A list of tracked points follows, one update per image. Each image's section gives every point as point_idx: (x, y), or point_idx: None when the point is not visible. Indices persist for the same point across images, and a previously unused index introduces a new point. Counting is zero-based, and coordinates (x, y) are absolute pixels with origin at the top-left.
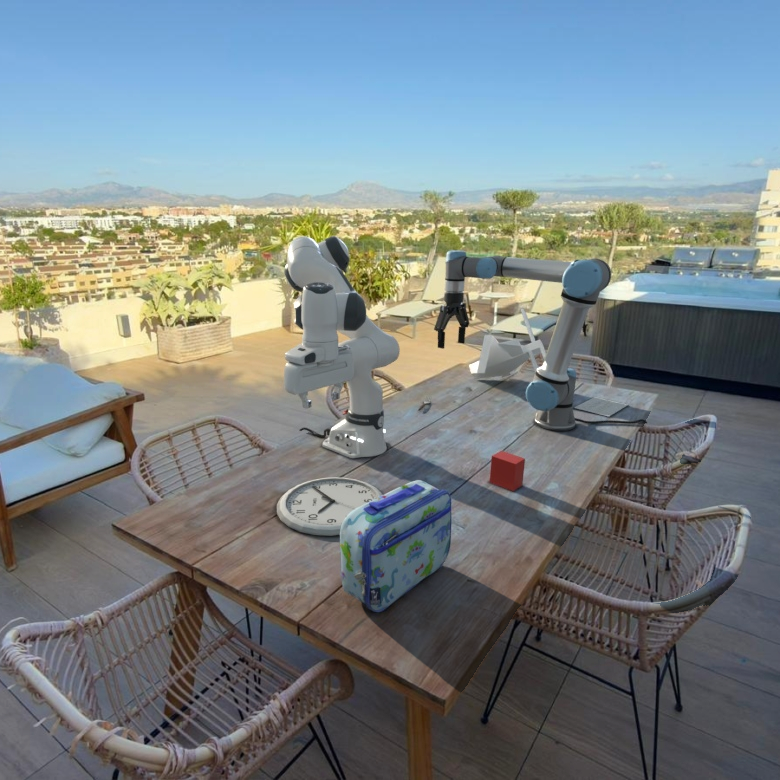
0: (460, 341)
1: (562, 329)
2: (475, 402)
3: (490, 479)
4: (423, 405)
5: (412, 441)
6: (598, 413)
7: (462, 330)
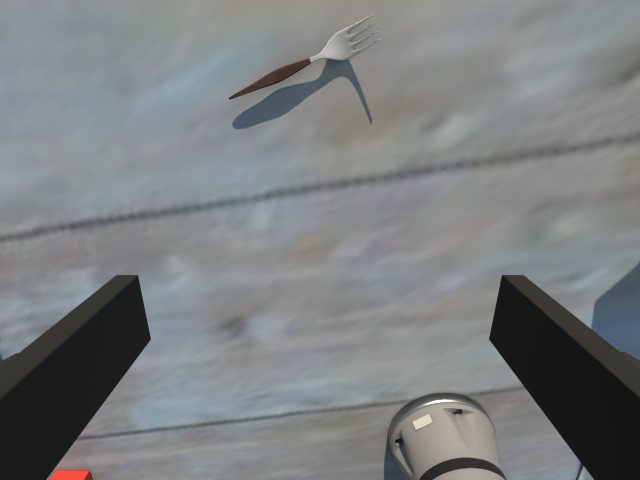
0: (504, 315)
1: None
2: (479, 188)
3: (51, 478)
4: (285, 74)
5: (38, 258)
6: (584, 470)
7: (601, 452)
